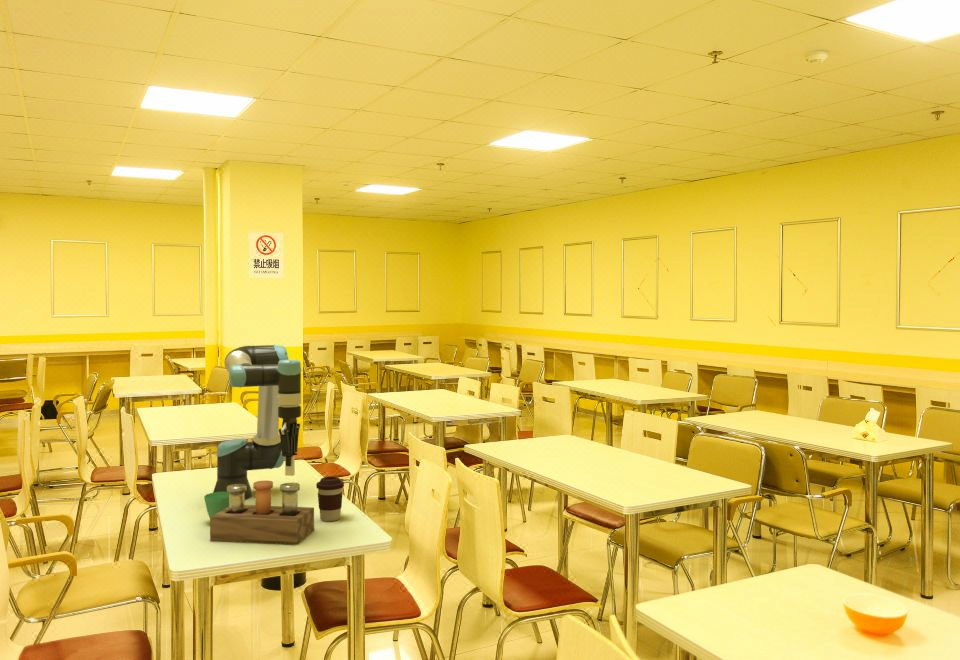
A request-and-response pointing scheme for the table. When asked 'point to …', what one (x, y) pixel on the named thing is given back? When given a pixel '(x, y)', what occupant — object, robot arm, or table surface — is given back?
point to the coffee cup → (330, 498)
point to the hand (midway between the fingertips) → (289, 475)
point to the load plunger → (263, 497)
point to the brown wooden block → (262, 526)
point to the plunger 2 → (289, 498)
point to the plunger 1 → (236, 498)
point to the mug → (216, 502)
